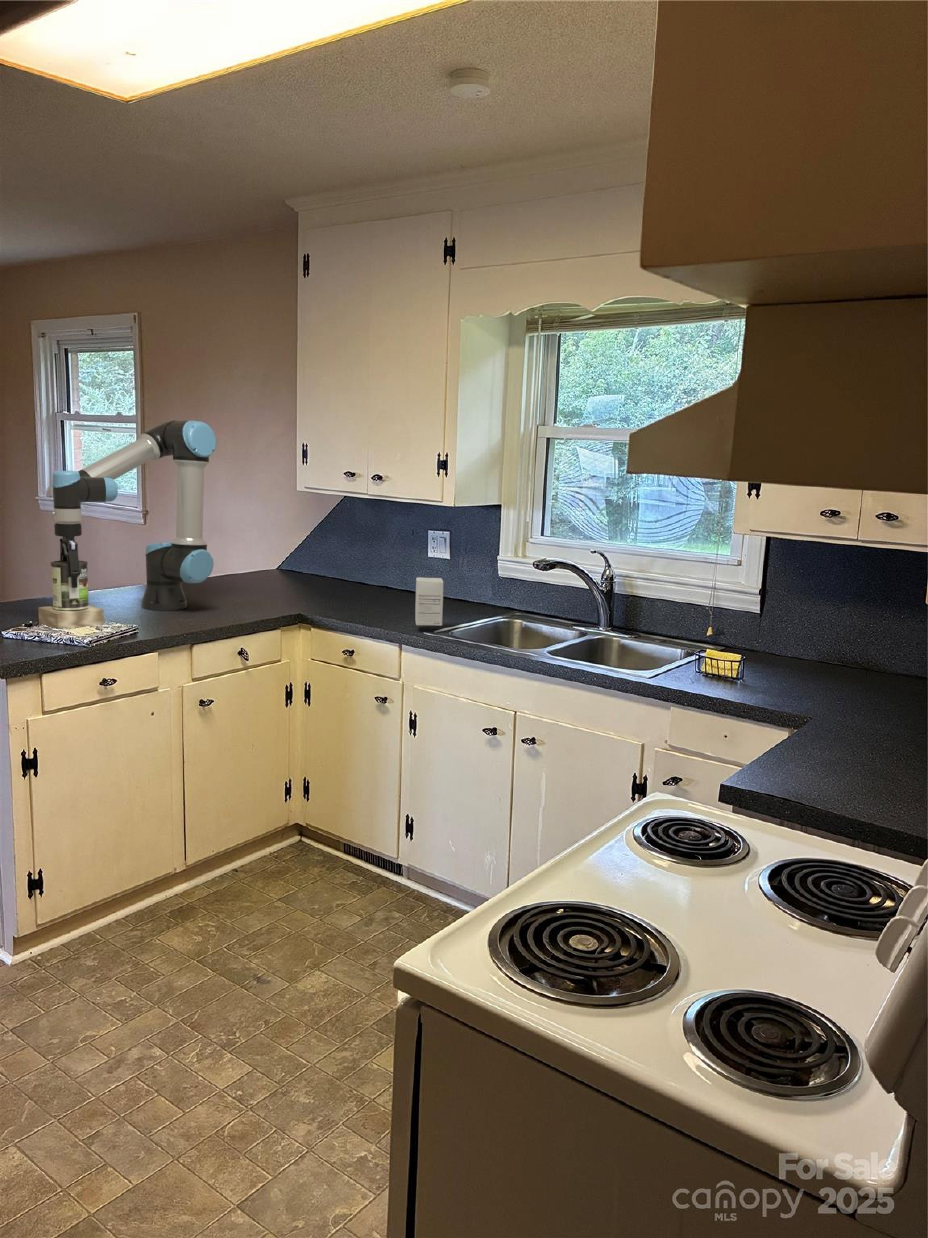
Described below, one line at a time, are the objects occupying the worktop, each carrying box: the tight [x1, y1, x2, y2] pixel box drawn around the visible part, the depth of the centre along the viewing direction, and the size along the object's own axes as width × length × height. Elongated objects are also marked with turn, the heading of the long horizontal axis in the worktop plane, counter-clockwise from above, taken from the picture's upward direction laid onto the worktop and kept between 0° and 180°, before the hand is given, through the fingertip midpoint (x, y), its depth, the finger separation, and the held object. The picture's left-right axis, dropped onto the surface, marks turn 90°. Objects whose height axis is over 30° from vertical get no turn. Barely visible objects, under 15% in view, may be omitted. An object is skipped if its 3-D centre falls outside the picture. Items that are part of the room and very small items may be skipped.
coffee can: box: [50, 560, 90, 610], centre depth 285 cm, size 10×10×14 cm
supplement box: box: [414, 576, 444, 626], centre depth 313 cm, size 9×9×15 cm
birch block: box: [37, 604, 105, 629], centre depth 286 cm, size 14×14×6 cm
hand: (70, 595), depth 285 cm, fingers closed on coffee can, 10 cm apart
